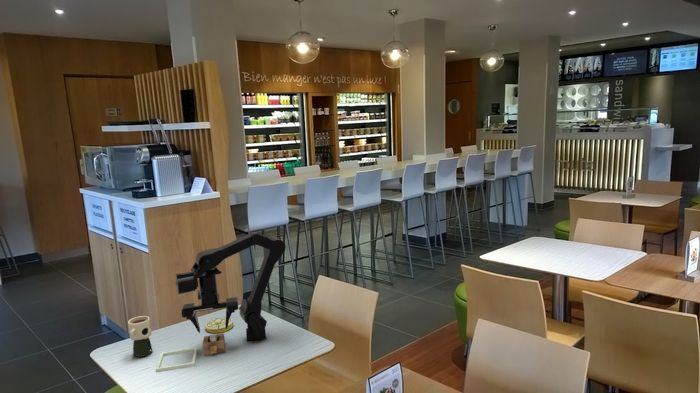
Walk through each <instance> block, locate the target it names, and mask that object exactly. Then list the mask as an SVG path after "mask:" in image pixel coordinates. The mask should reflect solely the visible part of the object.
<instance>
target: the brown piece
mask: <svg viewBox="0 0 700 393" xmlns="http://www.w3.org/2000/svg"><path fill="white" fill-rule="evenodd" d="M211 335H212V334H211ZM211 335H204V336H203V340H202V354H203V353H204V357H207V356H206V355H211V356H213V355H212V354H217V355H219V354H218V353H223V354H226V353H225V343H226V340H225V332H223V333H217V334H216V335H217V341H213V342H210V336H211Z"/></svg>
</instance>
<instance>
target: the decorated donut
mask: <svg viewBox="0 0 700 393" xmlns="http://www.w3.org/2000/svg"><path fill="white" fill-rule="evenodd" d="M233 326H234V321H233V319H232V318H230V319H229V323H228V327H227V329H226V317H217V318H214V319H211V320H208V321H207V322H206V323H205V325H204V329H205V331H206V333H208V334H212V335H217V334H223V333H226V332H228V331H230V330H231V329H232V328H233Z"/></svg>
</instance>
